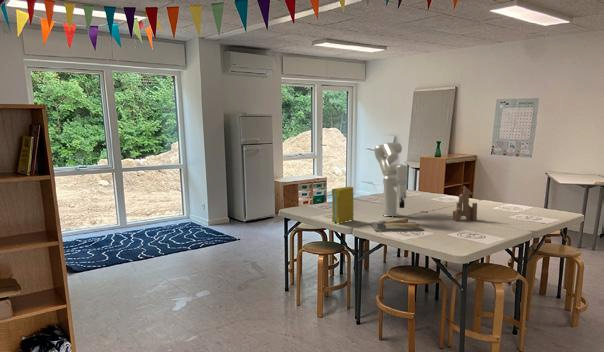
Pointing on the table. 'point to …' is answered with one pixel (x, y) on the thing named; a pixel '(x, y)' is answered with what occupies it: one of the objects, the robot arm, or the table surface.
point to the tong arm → (393, 221)
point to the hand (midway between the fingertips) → (401, 207)
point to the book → (342, 204)
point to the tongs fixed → (399, 226)
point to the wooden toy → (465, 207)
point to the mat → (395, 229)
